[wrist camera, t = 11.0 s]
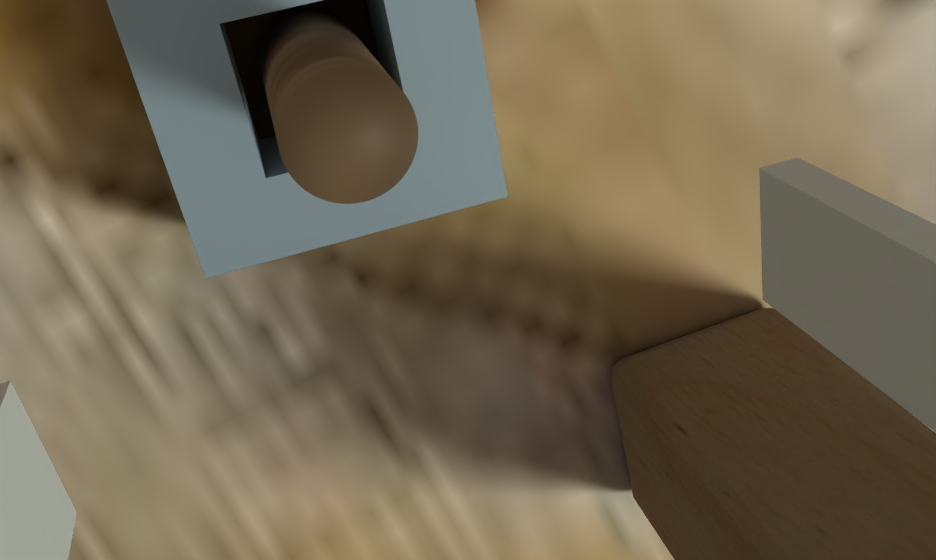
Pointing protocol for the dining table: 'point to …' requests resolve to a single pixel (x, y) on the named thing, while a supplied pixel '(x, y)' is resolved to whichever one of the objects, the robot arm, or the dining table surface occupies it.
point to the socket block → (259, 161)
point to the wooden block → (772, 449)
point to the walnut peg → (334, 108)
